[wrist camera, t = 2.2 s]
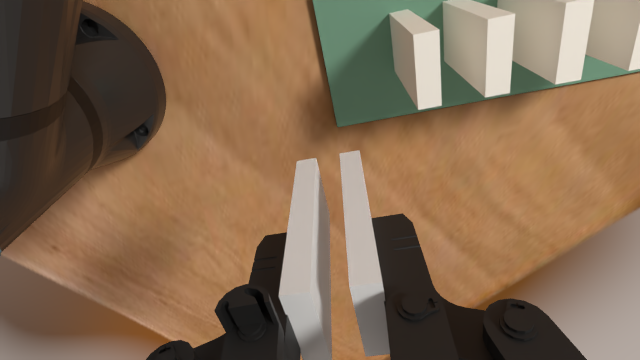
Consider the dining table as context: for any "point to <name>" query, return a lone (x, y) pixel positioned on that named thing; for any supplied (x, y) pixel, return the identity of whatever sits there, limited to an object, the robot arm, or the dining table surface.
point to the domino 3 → (551, 36)
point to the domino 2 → (479, 44)
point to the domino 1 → (417, 57)
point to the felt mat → (378, 63)
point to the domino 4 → (615, 33)
